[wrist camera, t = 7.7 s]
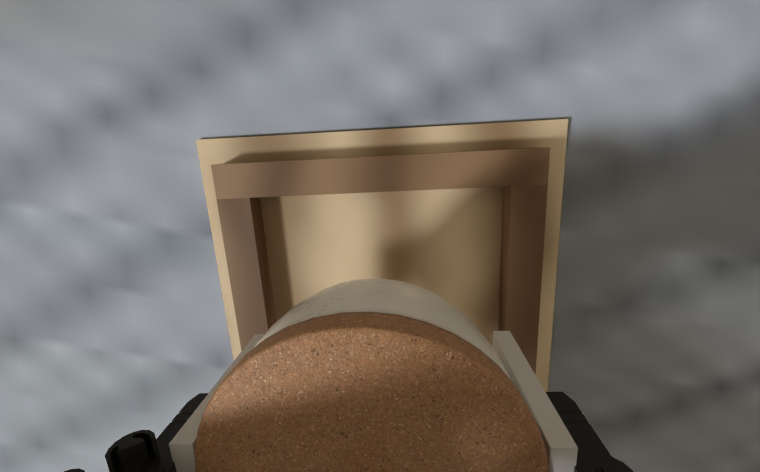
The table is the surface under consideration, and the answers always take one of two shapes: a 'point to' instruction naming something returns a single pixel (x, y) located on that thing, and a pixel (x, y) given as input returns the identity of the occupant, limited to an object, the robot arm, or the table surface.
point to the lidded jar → (370, 392)
